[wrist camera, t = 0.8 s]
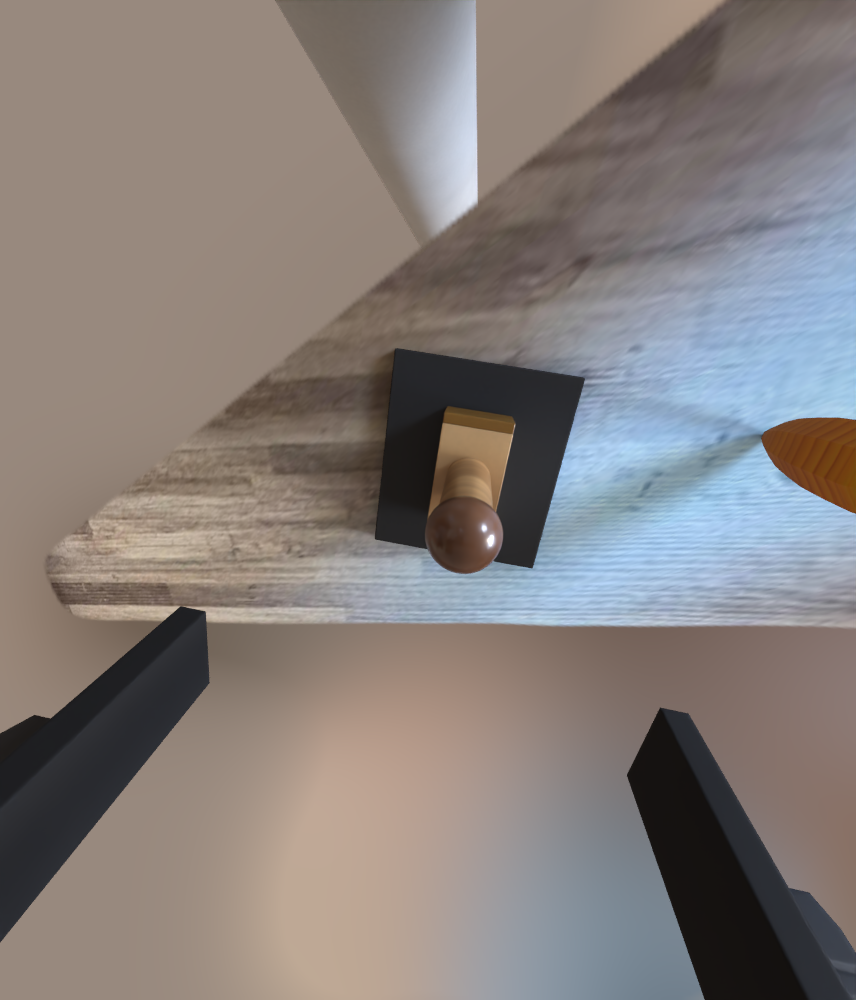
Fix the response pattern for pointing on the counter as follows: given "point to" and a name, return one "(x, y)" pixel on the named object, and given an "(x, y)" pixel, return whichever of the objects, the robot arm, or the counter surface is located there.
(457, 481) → the stamp
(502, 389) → the mat
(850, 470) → the carrot
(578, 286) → the counter surface
